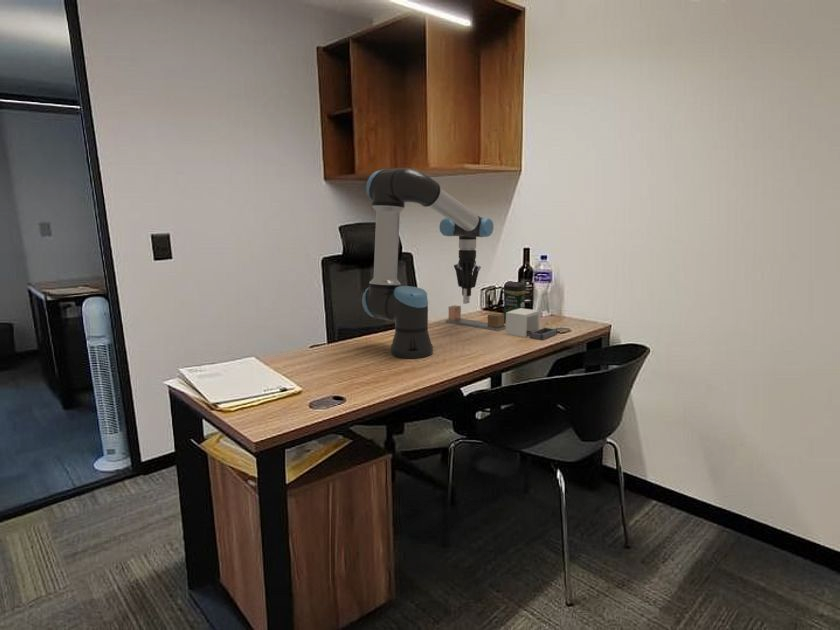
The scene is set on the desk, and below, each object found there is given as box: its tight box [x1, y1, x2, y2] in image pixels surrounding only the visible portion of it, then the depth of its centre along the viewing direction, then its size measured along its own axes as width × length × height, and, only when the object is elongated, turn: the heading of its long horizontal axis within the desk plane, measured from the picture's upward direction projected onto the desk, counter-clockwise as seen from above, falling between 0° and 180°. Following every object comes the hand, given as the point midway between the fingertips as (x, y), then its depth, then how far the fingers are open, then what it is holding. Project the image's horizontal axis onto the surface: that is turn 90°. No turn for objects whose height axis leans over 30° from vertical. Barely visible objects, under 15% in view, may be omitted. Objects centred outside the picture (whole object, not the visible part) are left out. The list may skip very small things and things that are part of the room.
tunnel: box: [505, 308, 541, 338], centre depth 211 cm, size 11×9×9 cm
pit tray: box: [529, 327, 558, 341], centre depth 205 cm, size 12×6×2 cm, turn 139°
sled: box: [445, 304, 506, 332], centre depth 226 cm, size 7×28×7 cm, turn 49°
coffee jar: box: [502, 281, 527, 324], centre depth 229 cm, size 10×8×19 cm
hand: (466, 303), depth 228 cm, fingers closed
